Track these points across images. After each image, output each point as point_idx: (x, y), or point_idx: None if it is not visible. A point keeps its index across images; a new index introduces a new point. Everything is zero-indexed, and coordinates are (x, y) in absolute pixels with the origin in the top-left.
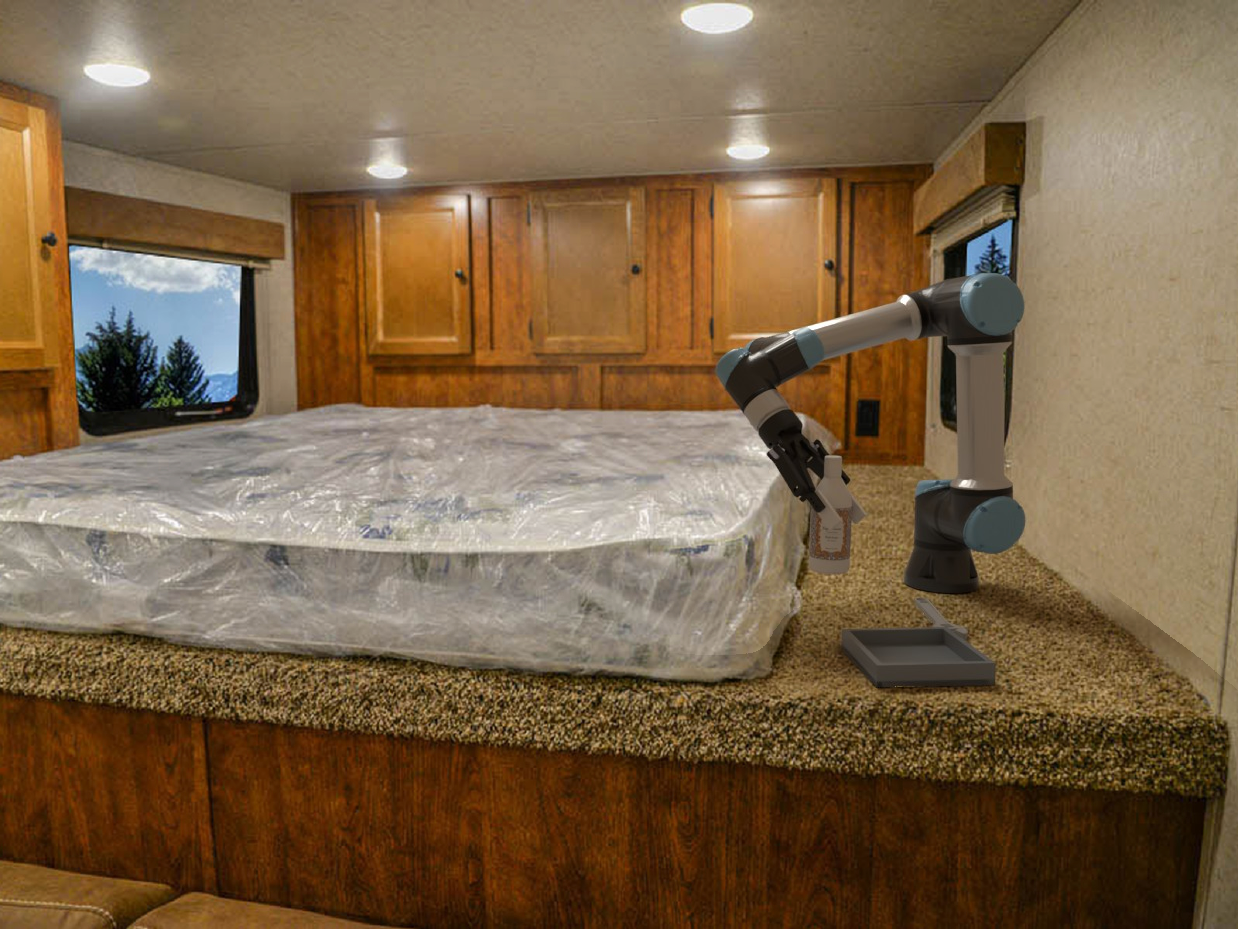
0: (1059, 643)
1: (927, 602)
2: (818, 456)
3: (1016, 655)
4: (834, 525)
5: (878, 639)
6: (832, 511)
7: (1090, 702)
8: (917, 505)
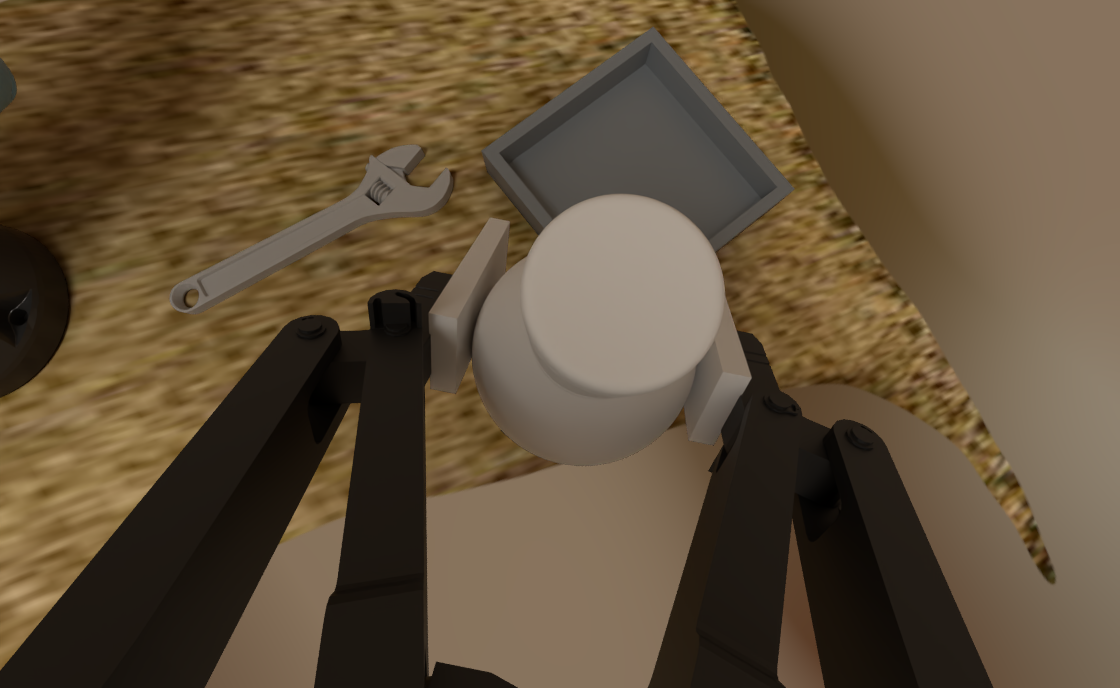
0: (345, 10)
1: (200, 280)
2: (387, 587)
3: (463, 59)
4: None
5: None
6: None
7: None
8: None
